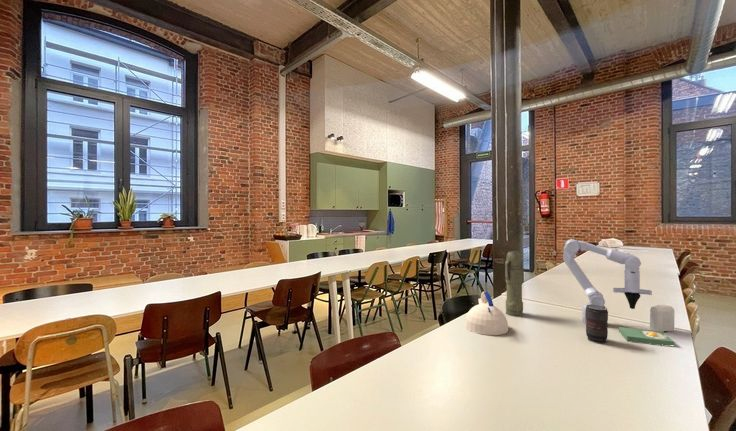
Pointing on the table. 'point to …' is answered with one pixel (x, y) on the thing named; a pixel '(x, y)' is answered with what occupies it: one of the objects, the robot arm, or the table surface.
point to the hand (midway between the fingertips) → (632, 308)
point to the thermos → (514, 283)
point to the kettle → (486, 318)
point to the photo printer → (662, 318)
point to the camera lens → (596, 323)
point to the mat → (645, 336)
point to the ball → (652, 334)
